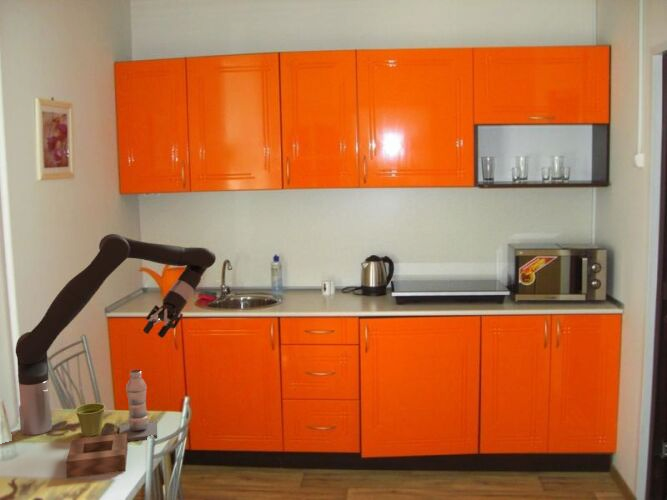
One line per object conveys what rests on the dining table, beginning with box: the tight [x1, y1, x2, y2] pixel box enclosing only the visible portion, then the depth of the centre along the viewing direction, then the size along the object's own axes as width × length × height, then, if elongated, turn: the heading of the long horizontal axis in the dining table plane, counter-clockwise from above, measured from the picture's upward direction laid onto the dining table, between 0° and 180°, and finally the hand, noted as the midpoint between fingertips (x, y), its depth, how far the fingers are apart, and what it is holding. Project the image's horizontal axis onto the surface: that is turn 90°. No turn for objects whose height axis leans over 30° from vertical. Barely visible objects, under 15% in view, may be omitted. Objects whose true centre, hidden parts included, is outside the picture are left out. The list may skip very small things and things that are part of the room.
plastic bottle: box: [125, 369, 150, 431], centre depth 222 cm, size 6×7×20 cm
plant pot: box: [74, 402, 106, 437], centre depth 223 cm, size 9×9×9 cm
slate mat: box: [118, 420, 158, 442], centre depth 224 cm, size 12×12×1 cm
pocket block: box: [65, 433, 129, 479], centre depth 201 cm, size 16×16×5 cm
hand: (152, 334), depth 230 cm, fingers open, 8 cm apart
